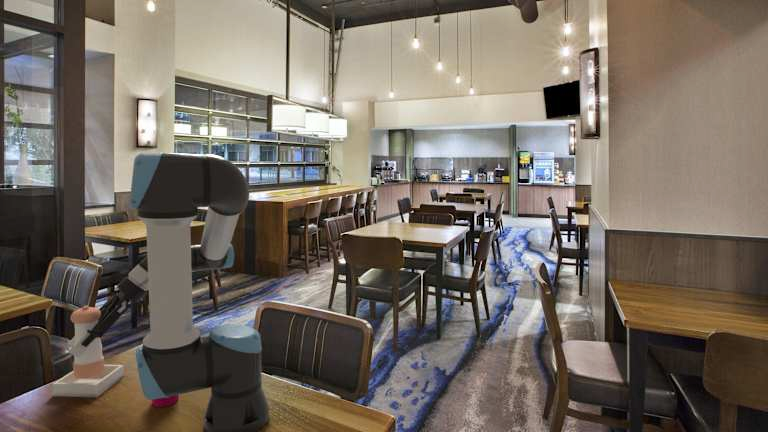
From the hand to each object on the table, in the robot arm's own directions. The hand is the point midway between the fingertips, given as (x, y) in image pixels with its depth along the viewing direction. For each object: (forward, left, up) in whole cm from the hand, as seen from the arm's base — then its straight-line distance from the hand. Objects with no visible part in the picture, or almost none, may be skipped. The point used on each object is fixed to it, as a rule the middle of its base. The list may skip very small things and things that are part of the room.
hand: (72, 350), depth 119 cm
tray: (+2, -3, -11) cm, 12 cm away
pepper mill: (-5, -28, -11) cm, 31 cm away
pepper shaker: (+2, -3, -7) cm, 8 cm away
